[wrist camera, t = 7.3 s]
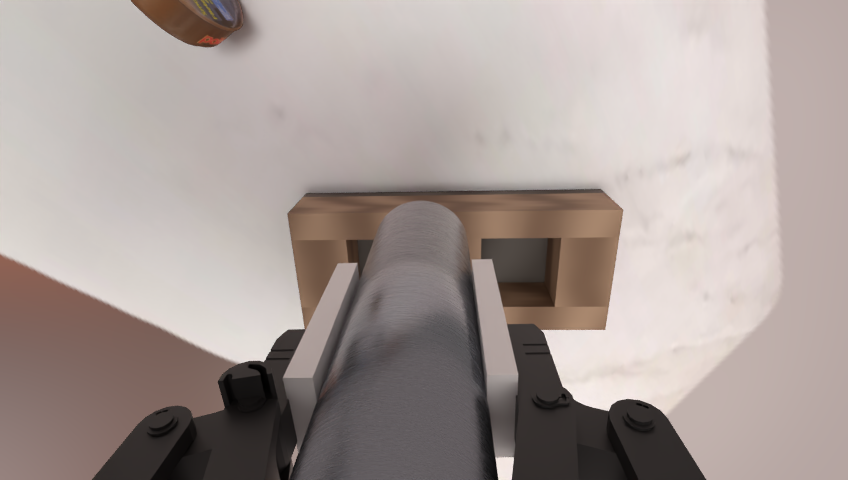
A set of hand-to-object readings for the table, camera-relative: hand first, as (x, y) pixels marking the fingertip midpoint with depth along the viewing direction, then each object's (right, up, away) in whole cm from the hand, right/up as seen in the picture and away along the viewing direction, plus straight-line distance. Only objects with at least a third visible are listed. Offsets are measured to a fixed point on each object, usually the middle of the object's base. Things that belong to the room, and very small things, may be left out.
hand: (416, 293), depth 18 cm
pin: (0, +2, +4) cm, 5 cm away
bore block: (+3, +1, +22) cm, 22 cm away
